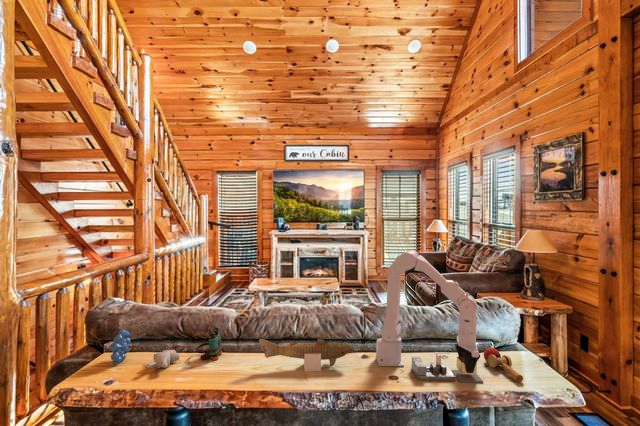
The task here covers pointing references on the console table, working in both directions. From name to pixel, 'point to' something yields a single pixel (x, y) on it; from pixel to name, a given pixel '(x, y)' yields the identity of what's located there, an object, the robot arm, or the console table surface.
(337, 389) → the console table surface
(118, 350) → the grapes
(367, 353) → the console table surface
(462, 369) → the wooden hollow block
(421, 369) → the gray fixture base
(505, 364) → the kendama
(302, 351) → the wood carving
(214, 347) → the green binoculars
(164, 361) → the bunny figurine
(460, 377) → the rubber mat
